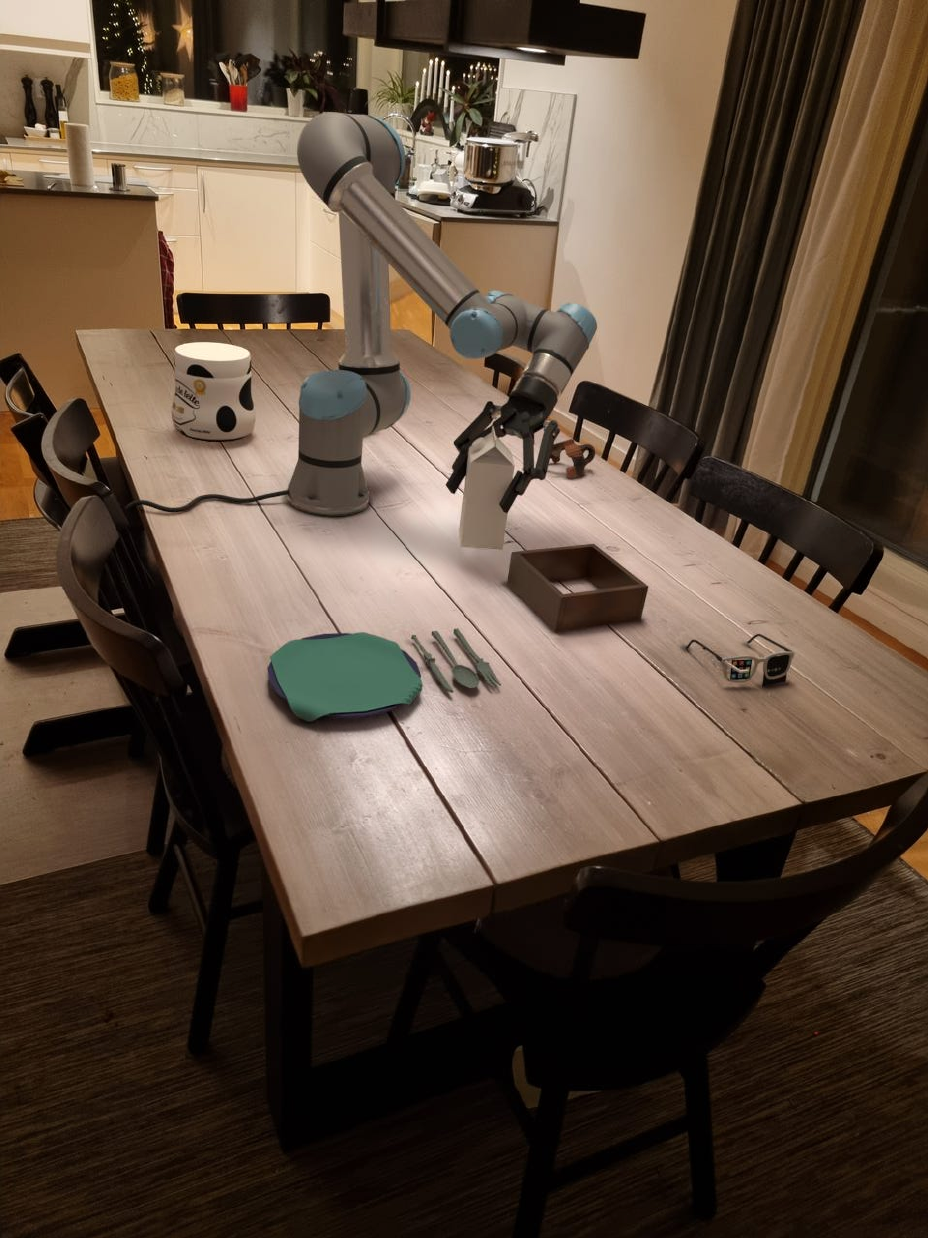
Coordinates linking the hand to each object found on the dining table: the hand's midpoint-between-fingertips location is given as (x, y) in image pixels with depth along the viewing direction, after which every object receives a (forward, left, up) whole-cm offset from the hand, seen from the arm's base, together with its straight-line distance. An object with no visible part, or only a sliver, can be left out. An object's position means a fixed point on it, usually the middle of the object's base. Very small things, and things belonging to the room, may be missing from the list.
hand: (476, 499), depth 149 cm
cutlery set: (-26, -28, -13) cm, 41 cm away
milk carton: (+3, +2, -9) cm, 9 cm away
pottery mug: (+44, +40, -13) cm, 60 cm away
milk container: (-27, +71, -13) cm, 77 cm away
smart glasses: (+26, -40, -13) cm, 50 cm away
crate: (+12, -15, -12) cm, 23 cm away
